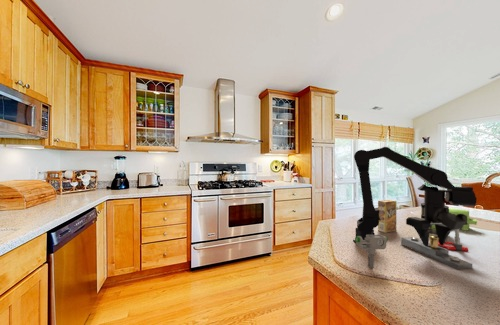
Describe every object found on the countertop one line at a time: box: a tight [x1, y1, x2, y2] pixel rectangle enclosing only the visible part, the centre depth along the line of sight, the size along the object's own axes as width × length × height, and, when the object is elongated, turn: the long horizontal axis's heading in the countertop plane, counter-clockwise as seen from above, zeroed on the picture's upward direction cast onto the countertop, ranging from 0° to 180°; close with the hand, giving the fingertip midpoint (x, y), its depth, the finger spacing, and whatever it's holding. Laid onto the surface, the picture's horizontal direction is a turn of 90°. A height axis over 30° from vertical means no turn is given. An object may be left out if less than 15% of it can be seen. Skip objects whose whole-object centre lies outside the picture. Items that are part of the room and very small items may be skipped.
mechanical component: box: [354, 234, 389, 269], centre depth 67 cm, size 3×10×10 cm, turn 95°
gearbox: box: [448, 207, 478, 231], centre depth 113 cm, size 18×10×10 cm, turn 40°
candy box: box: [377, 199, 397, 234], centre depth 104 cm, size 9×4×15 cm, turn 114°
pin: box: [429, 235, 439, 250], centre depth 76 cm, size 3×3×7 cm
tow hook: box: [438, 229, 469, 252], centre depth 85 cm, size 8×13×9 cm
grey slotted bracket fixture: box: [400, 236, 473, 270], centre depth 76 cm, size 6×21×4 cm, turn 9°
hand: (433, 245), depth 76 cm, fingers open, 7 cm apart
